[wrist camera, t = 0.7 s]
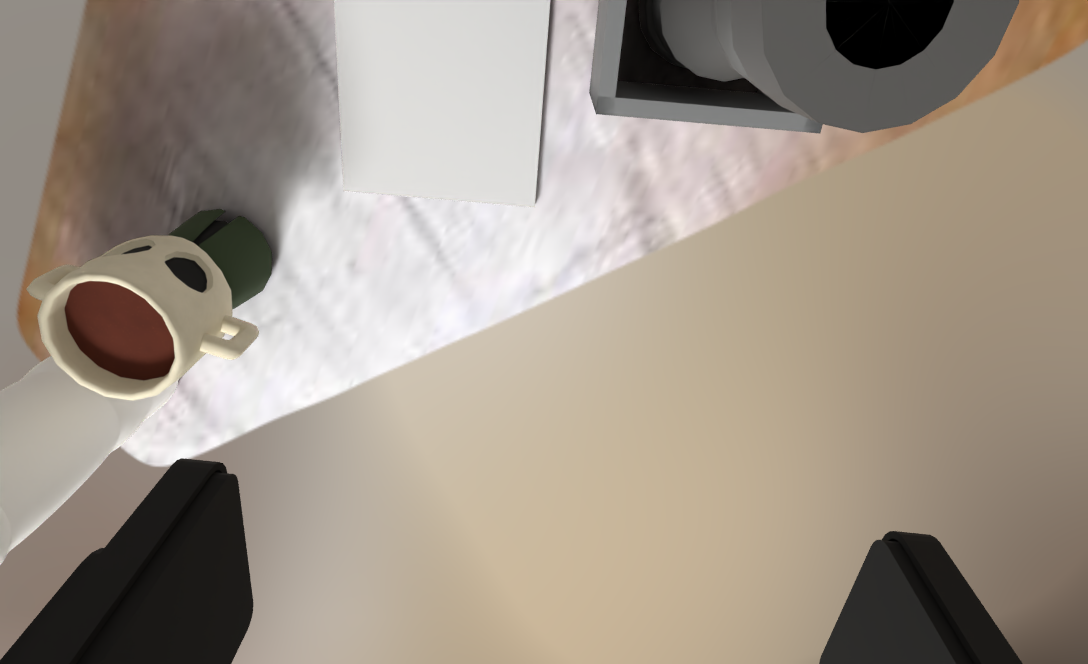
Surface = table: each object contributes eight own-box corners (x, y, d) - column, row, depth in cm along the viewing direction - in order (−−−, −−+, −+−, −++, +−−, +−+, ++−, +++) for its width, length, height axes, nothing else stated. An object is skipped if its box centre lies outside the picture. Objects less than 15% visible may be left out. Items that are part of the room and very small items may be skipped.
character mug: (321, 232, 44) (233, 313, 32) (299, 325, 47) (211, 430, 35) (152, 173, 42) (-5, 235, 31) (141, 272, 45) (-6, 364, 34)
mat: (335, -25, 37) (332, -26, 37) (550, -6, 37) (550, -7, 37) (346, 188, 42) (343, 191, 42) (535, 205, 43) (534, 207, 42)
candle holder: (641, -58, 36) (771, -169, 14) (757, -57, 36) (1079, -169, 14) (634, 65, 39) (731, 142, 16) (741, 66, 39) (989, 145, 16)
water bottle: (62, 337, 48) (-387, 631, 25) (143, 303, 46) (-255, 581, 24) (124, 415, 50) (-230, 744, 28) (202, 386, 49) (-104, 705, 27)
